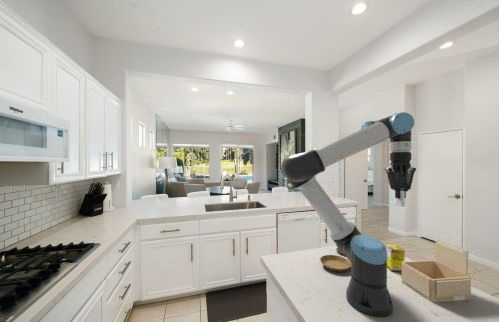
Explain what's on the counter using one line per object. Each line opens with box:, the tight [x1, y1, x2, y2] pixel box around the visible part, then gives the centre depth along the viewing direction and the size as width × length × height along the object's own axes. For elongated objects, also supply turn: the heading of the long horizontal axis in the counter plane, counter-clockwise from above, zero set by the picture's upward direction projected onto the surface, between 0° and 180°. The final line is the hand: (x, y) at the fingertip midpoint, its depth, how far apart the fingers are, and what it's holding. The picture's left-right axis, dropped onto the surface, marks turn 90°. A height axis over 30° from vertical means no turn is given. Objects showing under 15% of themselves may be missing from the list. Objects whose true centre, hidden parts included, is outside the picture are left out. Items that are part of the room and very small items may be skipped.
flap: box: [434, 239, 469, 275], centre depth 85 cm, size 9×12×1 cm
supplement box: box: [385, 244, 405, 273], centre depth 101 cm, size 6×6×11 cm
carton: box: [401, 259, 472, 304], centre depth 84 cm, size 16×16×9 cm
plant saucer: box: [319, 254, 351, 273], centre depth 105 cm, size 15×15×3 cm
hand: (400, 205), depth 89 cm, fingers closed
